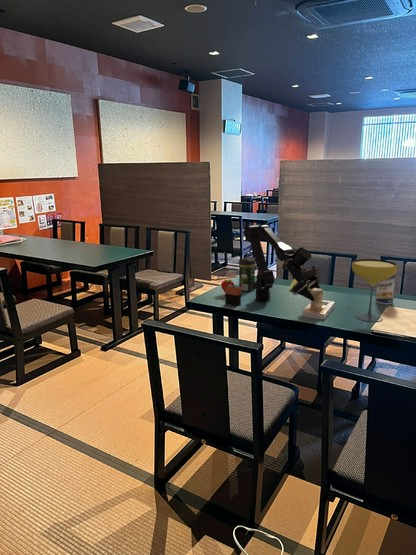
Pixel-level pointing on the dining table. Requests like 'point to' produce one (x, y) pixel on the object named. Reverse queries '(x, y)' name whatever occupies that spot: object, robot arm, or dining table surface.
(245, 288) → the coffee jar
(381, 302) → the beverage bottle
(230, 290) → the battery
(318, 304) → the peg
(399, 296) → the dining table surface
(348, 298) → the dining table surface
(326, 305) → the white flat box
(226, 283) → the strawberry
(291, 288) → the plastic component
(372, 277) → the cocktail glass
